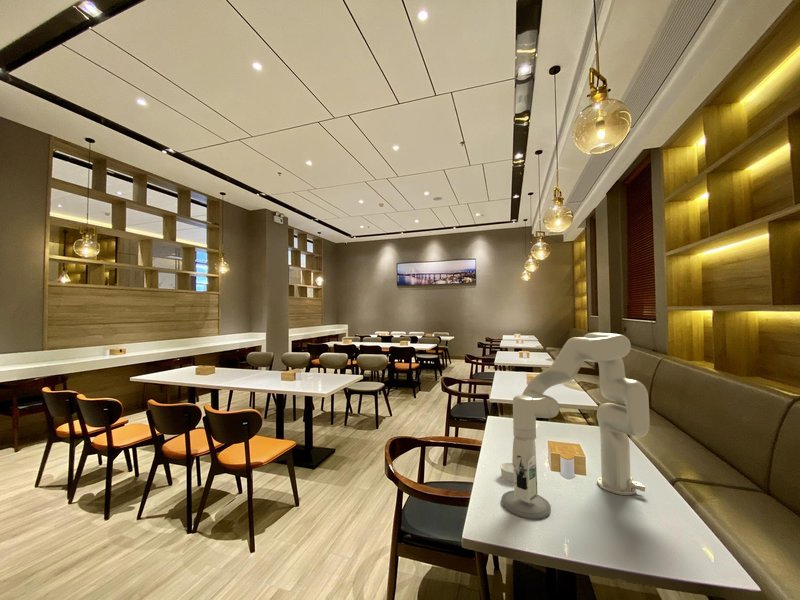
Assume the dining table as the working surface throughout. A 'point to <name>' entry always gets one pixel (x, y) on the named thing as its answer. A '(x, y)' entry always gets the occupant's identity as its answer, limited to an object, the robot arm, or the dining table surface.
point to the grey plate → (526, 507)
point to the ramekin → (507, 471)
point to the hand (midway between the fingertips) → (525, 484)
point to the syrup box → (531, 477)
